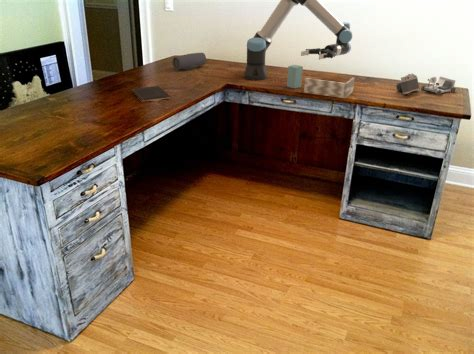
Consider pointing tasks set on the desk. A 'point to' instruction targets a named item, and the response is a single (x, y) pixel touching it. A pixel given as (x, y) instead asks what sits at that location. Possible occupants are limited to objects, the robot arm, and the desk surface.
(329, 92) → the arena
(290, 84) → the teal block
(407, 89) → the camera
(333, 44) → the robot arm
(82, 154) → the desk surface
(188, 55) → the bluetooth speaker
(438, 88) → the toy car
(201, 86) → the desk surface
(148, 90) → the hardcover book
